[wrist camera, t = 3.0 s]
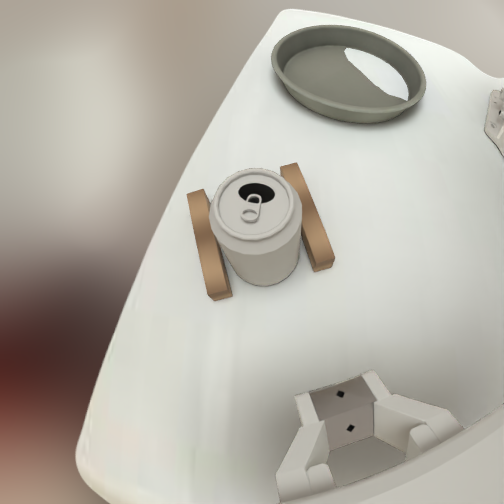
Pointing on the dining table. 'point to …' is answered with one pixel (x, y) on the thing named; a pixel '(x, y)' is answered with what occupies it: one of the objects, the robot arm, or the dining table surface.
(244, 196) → the can
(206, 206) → the parallel wooden bars
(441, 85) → the dining table surface
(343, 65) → the cake pan
